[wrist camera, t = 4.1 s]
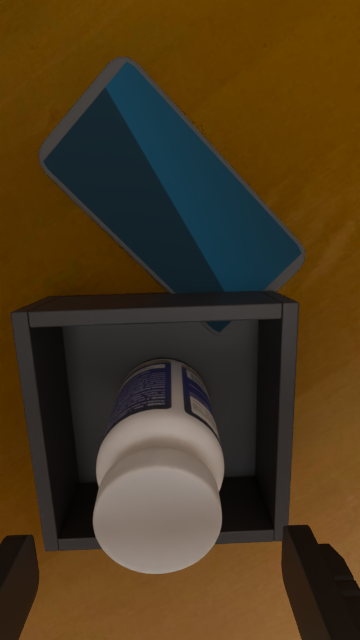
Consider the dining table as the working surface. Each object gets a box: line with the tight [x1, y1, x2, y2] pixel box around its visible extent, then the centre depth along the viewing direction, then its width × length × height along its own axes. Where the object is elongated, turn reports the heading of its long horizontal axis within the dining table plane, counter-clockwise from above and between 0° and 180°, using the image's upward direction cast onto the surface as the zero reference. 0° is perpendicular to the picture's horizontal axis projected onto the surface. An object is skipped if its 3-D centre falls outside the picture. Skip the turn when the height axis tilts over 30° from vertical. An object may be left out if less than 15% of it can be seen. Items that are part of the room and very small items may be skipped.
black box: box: [11, 290, 299, 551], centre depth 20 cm, size 14×14×5 cm
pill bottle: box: [93, 359, 224, 574], centre depth 17 cm, size 6×6×10 cm
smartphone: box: [38, 57, 305, 336], centre depth 19 cm, size 8×15×1 cm, turn 45°
